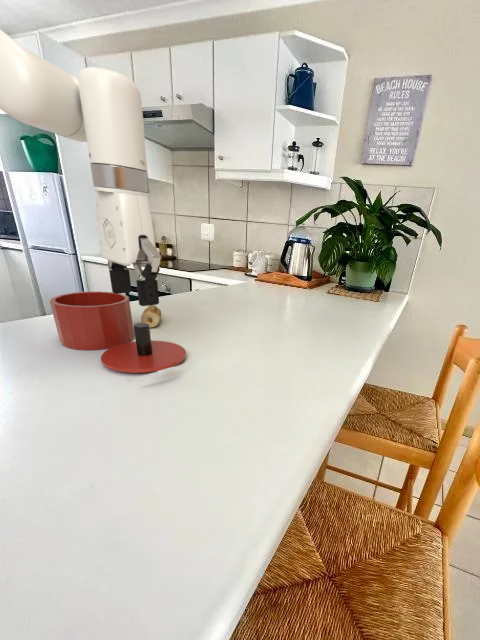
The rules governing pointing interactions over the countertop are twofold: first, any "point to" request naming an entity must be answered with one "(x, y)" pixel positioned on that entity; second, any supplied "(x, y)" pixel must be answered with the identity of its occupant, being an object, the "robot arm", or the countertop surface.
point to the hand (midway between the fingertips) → (135, 298)
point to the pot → (92, 320)
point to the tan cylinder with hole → (151, 316)
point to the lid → (143, 353)
